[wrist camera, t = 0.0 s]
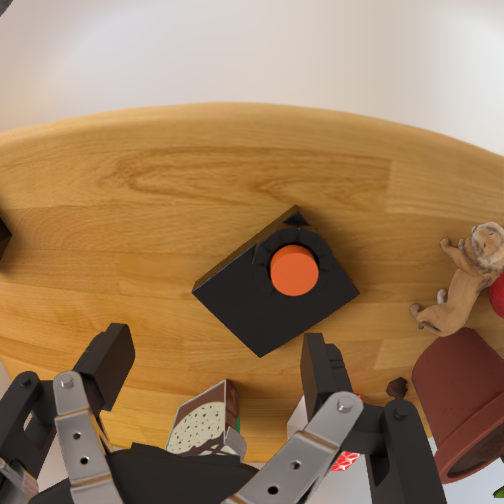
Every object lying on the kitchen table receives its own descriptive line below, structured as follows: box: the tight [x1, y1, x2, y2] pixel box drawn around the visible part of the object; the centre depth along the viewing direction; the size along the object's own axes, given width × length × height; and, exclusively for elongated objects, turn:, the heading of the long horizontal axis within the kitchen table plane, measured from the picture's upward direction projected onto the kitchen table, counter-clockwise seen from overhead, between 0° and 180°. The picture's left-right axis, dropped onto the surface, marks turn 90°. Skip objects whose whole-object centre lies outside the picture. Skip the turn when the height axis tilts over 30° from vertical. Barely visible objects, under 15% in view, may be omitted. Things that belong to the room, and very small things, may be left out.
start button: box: [271, 245, 319, 296], centre depth 23 cm, size 4×4×2 cm
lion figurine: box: [410, 221, 504, 337], centre depth 24 cm, size 15×5×9 cm, turn 173°
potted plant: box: [386, 328, 504, 498], centre depth 22 cm, size 18×22×25 cm
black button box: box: [192, 205, 360, 358], centre depth 27 cm, size 10×12×4 cm
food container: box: [165, 379, 247, 463], centre depth 31 cm, size 12×6×10 cm, turn 133°
